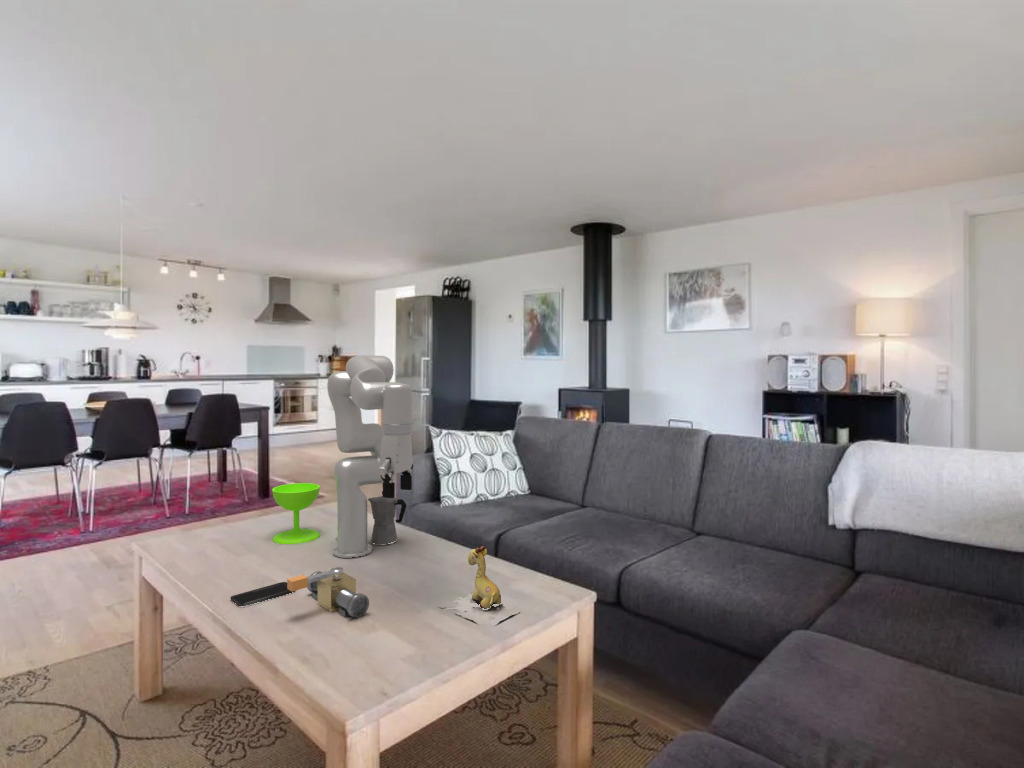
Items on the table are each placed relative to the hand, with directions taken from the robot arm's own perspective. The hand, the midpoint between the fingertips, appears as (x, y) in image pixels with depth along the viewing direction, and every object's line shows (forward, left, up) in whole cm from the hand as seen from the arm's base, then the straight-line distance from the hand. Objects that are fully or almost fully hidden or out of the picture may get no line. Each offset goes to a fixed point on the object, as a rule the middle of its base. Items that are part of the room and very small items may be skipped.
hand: (397, 493), depth 150 cm
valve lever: (-7, -20, -21) cm, 29 cm away
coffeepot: (-41, +24, -28) cm, 55 cm away
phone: (-26, -25, -28) cm, 46 cm away
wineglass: (-68, +4, -28) cm, 74 cm away
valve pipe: (-7, -14, -28) cm, 32 cm away
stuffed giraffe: (+22, +12, -28) cm, 38 cm away
